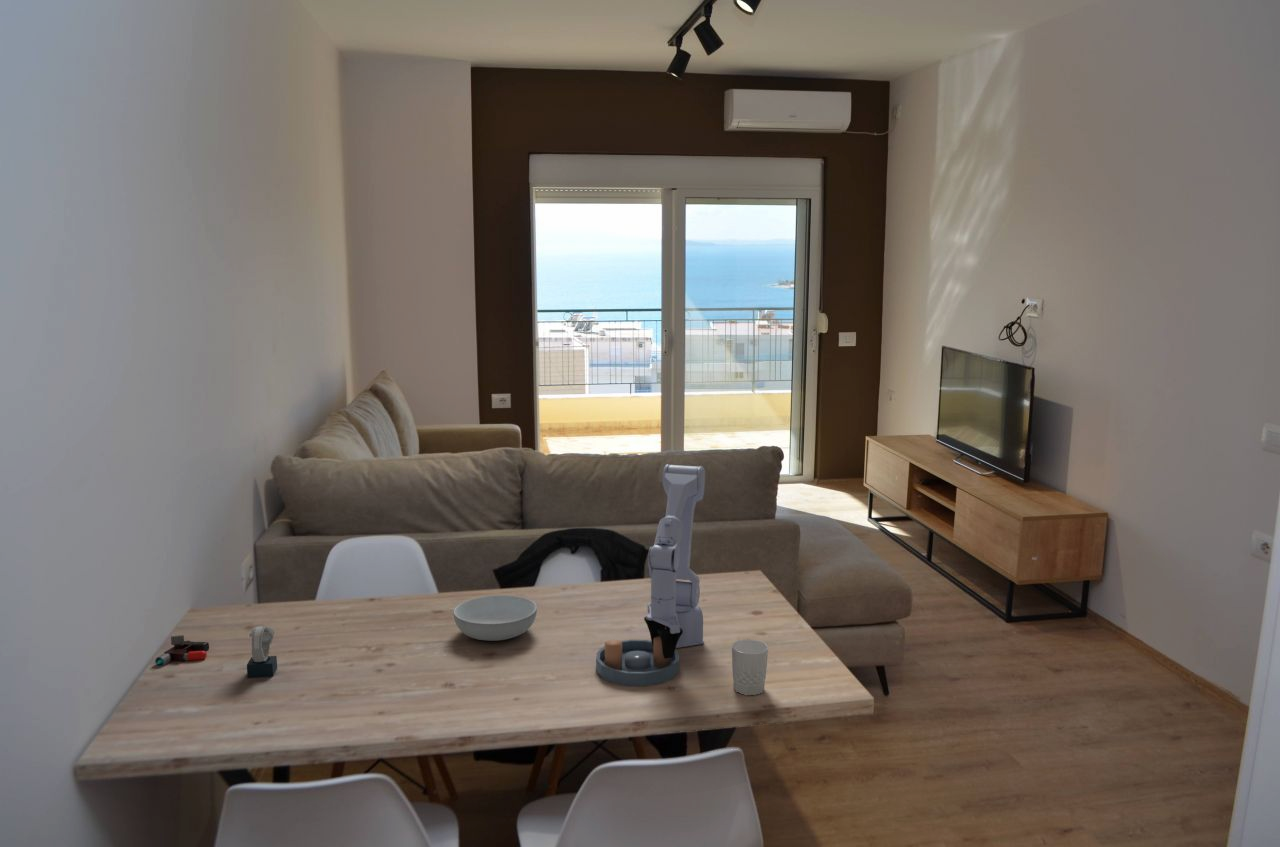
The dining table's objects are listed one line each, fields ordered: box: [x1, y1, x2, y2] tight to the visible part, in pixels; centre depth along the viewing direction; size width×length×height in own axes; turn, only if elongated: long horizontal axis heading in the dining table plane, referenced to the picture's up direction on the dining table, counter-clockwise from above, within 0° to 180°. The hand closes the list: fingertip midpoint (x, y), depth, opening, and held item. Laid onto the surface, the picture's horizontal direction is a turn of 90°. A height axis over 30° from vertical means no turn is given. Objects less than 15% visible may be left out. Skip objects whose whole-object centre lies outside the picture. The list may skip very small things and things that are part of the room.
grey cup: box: [731, 639, 769, 696], centre depth 210 cm, size 8×8×10 cm
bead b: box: [653, 636, 671, 668], centre depth 221 cm, size 4×4×6 cm
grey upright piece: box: [246, 624, 278, 679], centre depth 217 cm, size 6×8×11 cm
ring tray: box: [595, 639, 680, 687], centre depth 221 cm, size 19×19×3 cm
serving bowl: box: [452, 594, 538, 642], centre depth 241 cm, size 21×21×7 cm
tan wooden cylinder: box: [604, 639, 622, 670], centre depth 218 cm, size 4×4×6 cm
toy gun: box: [154, 634, 210, 667], centre depth 225 cm, size 10×12×5 cm
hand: (662, 652), depth 221 cm, fingers open, 6 cm apart
